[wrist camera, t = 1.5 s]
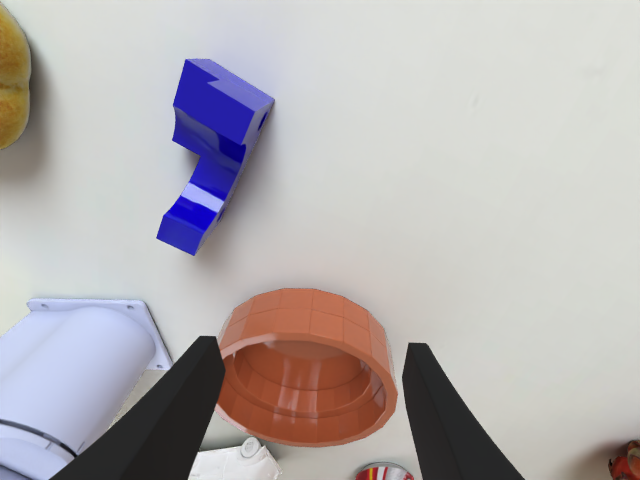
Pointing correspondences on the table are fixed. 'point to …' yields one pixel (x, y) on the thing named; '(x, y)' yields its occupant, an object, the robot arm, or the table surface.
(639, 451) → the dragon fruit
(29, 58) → the bread roll
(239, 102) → the cable holder
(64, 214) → the table surface
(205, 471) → the car
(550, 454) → the table surface
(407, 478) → the soda can
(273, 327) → the bowl
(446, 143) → the table surface
